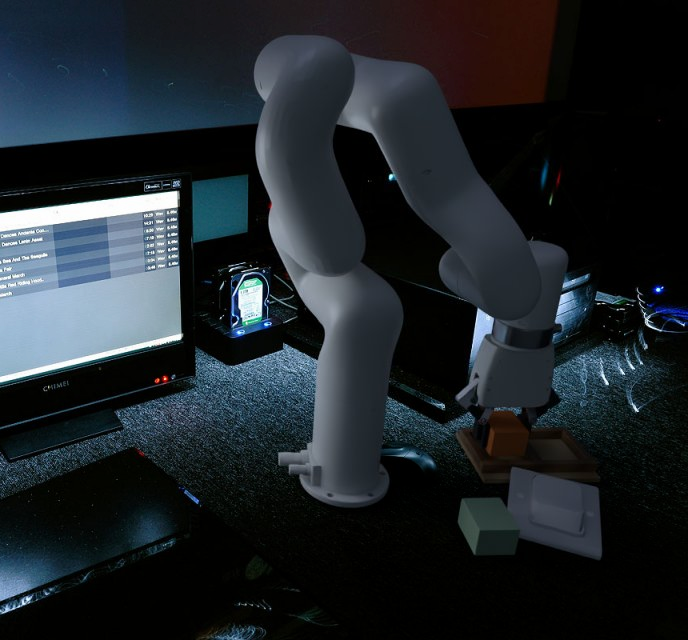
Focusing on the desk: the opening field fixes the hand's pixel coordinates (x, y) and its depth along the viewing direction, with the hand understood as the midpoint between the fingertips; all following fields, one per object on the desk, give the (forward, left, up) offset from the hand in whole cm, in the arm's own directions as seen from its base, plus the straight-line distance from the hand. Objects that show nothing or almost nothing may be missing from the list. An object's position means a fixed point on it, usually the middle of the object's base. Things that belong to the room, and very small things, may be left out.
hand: (499, 441), depth 99 cm
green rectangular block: (-8, -17, -3) cm, 19 cm away
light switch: (+2, -13, -3) cm, 13 cm away
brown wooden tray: (+4, 0, -3) cm, 5 cm away
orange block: (0, 0, 0) cm, 0 cm away
